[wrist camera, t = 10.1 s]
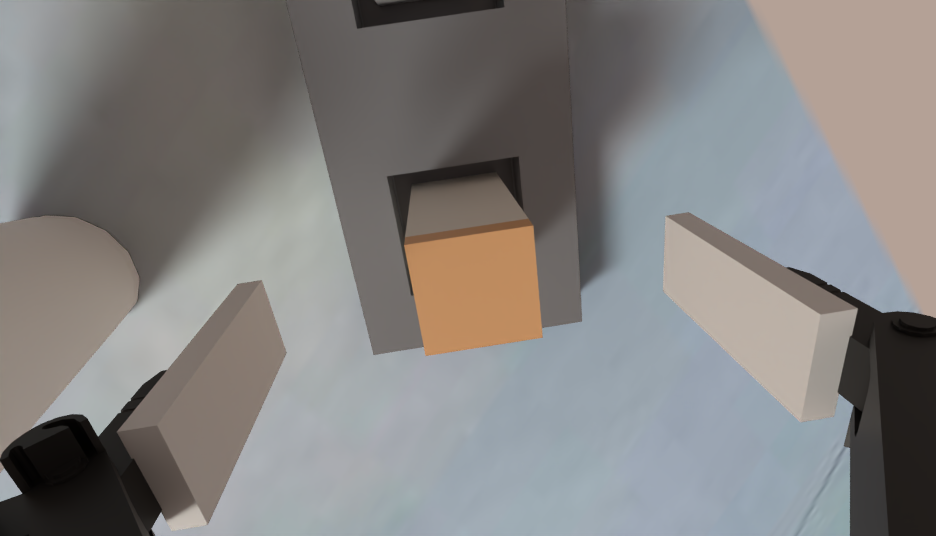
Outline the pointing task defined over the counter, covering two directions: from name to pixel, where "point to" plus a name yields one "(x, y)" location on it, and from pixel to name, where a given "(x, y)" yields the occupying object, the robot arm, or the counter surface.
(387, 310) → the socket strip
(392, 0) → the grey tall block
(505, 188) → the plug
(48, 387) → the foam cup
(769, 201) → the counter surface
